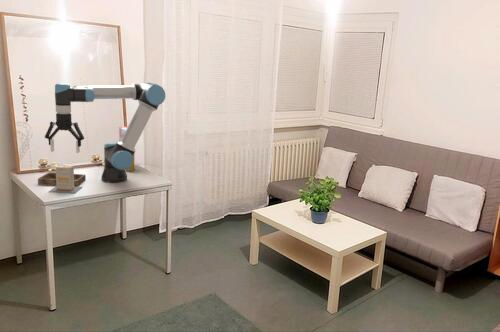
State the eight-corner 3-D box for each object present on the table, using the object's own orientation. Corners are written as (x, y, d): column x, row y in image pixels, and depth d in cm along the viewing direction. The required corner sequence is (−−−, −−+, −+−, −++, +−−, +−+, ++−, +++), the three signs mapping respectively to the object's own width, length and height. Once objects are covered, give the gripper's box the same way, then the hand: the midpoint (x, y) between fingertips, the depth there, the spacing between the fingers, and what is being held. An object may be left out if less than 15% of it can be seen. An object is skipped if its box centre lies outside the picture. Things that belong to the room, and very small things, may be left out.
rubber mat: (82, 187, 243) (82, 186, 243) (74, 193, 232) (74, 192, 232) (57, 186, 242) (57, 185, 242) (48, 192, 231) (48, 191, 231)
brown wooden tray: (85, 180, 258) (85, 174, 257) (77, 186, 244) (77, 180, 243) (48, 178, 256) (48, 172, 255) (38, 184, 243) (37, 178, 242)
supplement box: (74, 188, 239) (74, 165, 236) (70, 190, 234) (69, 167, 231) (60, 187, 239) (59, 164, 236) (56, 189, 235) (55, 166, 232)
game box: (134, 171, 286) (134, 131, 280) (126, 171, 283) (126, 131, 277) (126, 164, 303) (126, 126, 297) (118, 164, 300) (118, 126, 294)
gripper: (89, 113, 232) (90, 151, 237) (42, 110, 230) (44, 149, 235) (85, 115, 224) (86, 154, 229) (36, 112, 223) (38, 152, 228)
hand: (65, 151), depth 232 cm, fingers open, 13 cm apart
